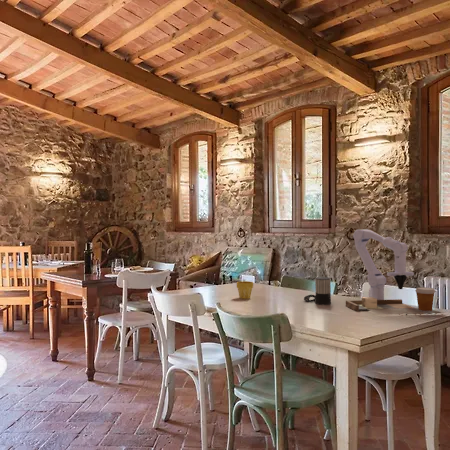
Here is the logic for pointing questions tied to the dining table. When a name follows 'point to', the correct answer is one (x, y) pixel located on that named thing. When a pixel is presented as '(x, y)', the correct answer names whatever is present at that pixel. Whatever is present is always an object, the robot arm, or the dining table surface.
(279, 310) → the dining table surface
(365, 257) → the robot arm
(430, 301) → the disposable coffee cup
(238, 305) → the dining table surface
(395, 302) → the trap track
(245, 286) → the plant pot
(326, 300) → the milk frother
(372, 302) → the maple block
